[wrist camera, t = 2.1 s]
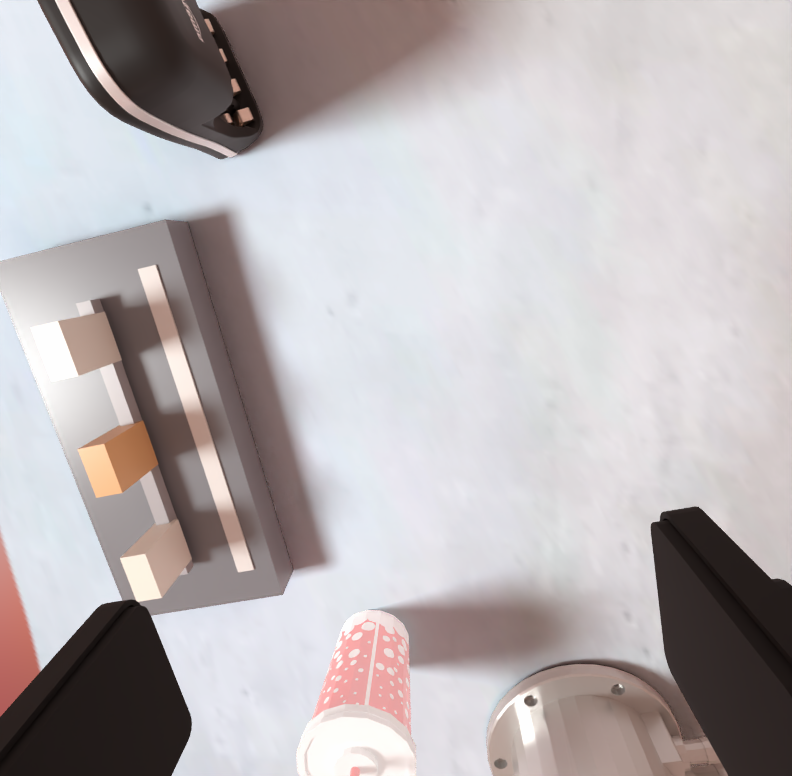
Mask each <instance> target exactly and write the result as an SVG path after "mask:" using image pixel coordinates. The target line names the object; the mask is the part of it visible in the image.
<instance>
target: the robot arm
mask: <svg viewBox="0 0 792 776" xmlns="http://www.w3.org/2000/svg"><path fill="white" fill-rule="evenodd" d="M651 536H652V545H653V554H654V563H655V572H656V580H657V589H658V598H659V607H660V616H661V625H662V634H663V643H664V651H665V656H666V660H667V663H668V666H669V669H670V671H671V673H672V675H673V677H674V679H675V681H676V683H677V684H678V686H679V688H680V690H681V692H682V693H683V695H684V697H685V699H686V701H687V702H688V704H689V706H690V708H691V710H692V711H693V713H694V715H695V717H696V719H697V720H698V722H699V724H700V726H701V728H702V729H703V731H704V733H705V735H706V737H700V738H698V739H693V740H685V741H682V736H681V733H680V729H679V726H678V723H677V721H676V719H675V717H674V716H673V714H672V712H671V710H670V708H669V706H668V705H667V703H666V702H665V701H664V699H663V698H662V697H661V695H660V694H659V693H658V692H657V691H655V690H654V689H653V688H652V687H651V686H650V685H648V684H647V683H646V682H644V681H642V680H641V679H639V678H637V677H635V676H634V675H632V674H630V673H627V672H624V671H621V670H619V669H616V668H612V667H607V666H601V665H596V664H573V665H566V666H558V667H555V668H551V669H548V670H544V671H541V672H539V673H537V674H535V675H533V676H531V677H528V678H526V679H524V680H523V681H522V682H520V683H519V684H517V685H516V686H515V687H513V688H512V689H511V690H510V691H509V692H508V693H507V694H506V695H505V696H504V697H503V698H502V699H501V700H500V701H499V703H498V705H497V706H496V708H495V710H494V711H493V713H492V715H491V718H490V721H489V724H488V727H487V737H486V746H487V755H488V762H489V765H490V769H491V772H492V775H493V776H792V586H791V585H790V584H789V583H787V582H786V581H784V580H781V579H771V578H770V577H769V576H768V575H767V574H766V573H765V572H764V571H763V570H762V569H761V568H760V567H759V566H758V565H757V564H756V563H755V562H754V561H753V560H752V559H751V558H750V557H749V556H748V555H747V554H746V553H745V552H744V551H743V550H742V549H741V548H740V547H739V546H738V545H737V544H736V543H735V542H734V541H733V540H732V539H731V538H730V537H729V536H728V535H727V534H726V533H725V532H724V531H723V530H722V529H721V528H720V527H719V526H718V525H717V524H716V523H715V522H714V521H713V520H712V519H711V518H710V517H709V516H708V515H707V514H706V513H705V512H704V511H703V510H702V509H700V508H699V507H690V508H684V509H678V510H672V511H666V512H662V513H661V516H660V521H659V522H653V523H652V524H651ZM191 726H192V721H191V716H190V713H189V710H188V708H187V705H186V703H185V700H184V698H183V695H182V693H181V690H180V688H179V685H178V683H177V680H176V678H175V675H174V673H173V670H172V668H171V665H170V663H169V660H168V658H167V655H166V653H165V650H164V648H163V645H162V643H161V640H160V638H159V635H158V633H157V630H156V628H155V625H154V623H153V620H152V618H151V615H150V613H149V611H148V609H147V608H146V607H145V606H141V605H140V603H139V602H137V601H136V600H133V599H130V600H124V601H117V602H111V603H106V604H102V605H101V606H99V607H98V608H97V609H96V610H95V611H94V612H93V613H92V615H91V616H90V617H89V618H88V619H87V620H86V621H85V622H84V624H83V625H82V626H81V627H80V628H79V629H78V630H77V631H76V633H75V634H74V635H73V636H72V637H71V638H70V639H69V640H68V642H67V643H66V644H65V645H64V646H63V647H62V648H61V649H60V651H59V652H58V653H57V654H56V655H55V656H54V657H53V658H52V660H51V661H50V662H49V663H48V664H47V665H46V666H45V667H44V669H43V670H42V671H41V672H40V673H39V674H38V675H37V677H36V678H35V679H34V680H33V681H32V682H31V683H30V684H29V685H28V687H27V688H26V689H25V690H24V691H23V692H22V693H21V694H20V695H19V697H18V698H17V699H16V700H15V701H14V702H13V703H12V704H11V706H10V707H9V708H8V709H7V710H6V711H5V713H3V715H2V716H1V717H0V776H171V775H172V773H173V771H174V769H175V767H176V765H177V763H178V761H179V758H180V756H181V754H182V752H183V750H184V748H185V746H186V744H187V742H188V739H189V737H190V733H191ZM704 763H706V764H711V765H705V766H696V767H691V766H690V765H694V764H704Z"/></svg>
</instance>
